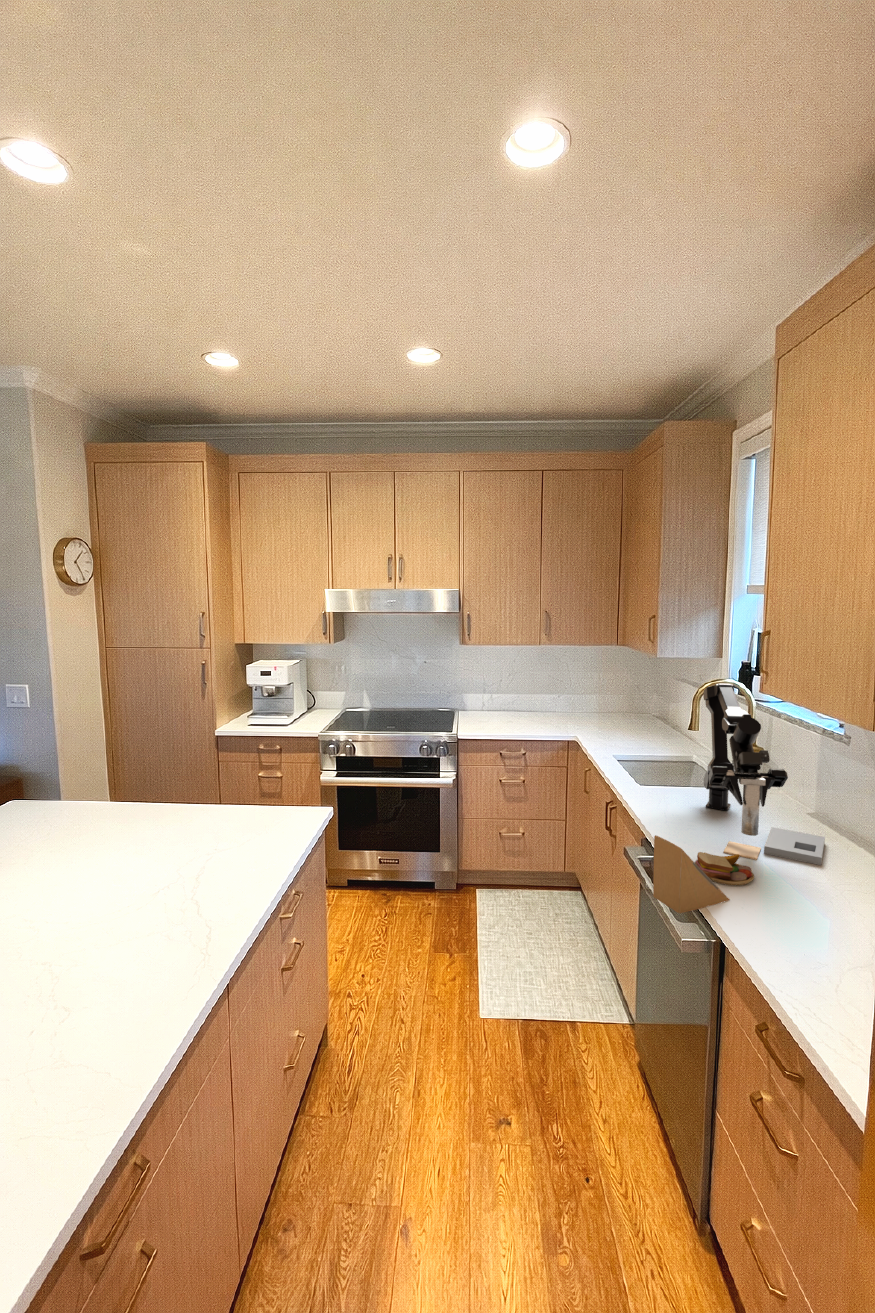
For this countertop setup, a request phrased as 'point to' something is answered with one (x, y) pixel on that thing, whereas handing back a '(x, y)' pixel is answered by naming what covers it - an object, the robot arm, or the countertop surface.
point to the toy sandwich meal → (724, 869)
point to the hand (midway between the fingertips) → (752, 805)
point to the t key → (751, 804)
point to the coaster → (742, 850)
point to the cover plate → (795, 845)
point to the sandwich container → (681, 880)
